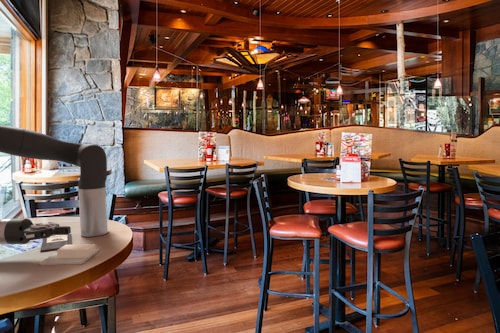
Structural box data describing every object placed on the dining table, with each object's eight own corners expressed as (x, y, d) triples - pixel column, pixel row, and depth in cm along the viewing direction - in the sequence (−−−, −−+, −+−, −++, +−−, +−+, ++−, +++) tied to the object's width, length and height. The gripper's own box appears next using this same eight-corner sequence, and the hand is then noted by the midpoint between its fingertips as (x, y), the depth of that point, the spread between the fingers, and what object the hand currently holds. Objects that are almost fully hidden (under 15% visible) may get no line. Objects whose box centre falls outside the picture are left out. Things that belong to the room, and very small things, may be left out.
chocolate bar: (40, 250, 115) (43, 237, 131) (40, 253, 115) (43, 239, 131) (72, 246, 119) (71, 233, 135) (72, 249, 119) (71, 236, 135)
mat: (61, 251, 115) (61, 249, 115) (99, 250, 115) (99, 249, 115) (39, 264, 103) (39, 262, 103) (82, 264, 103) (81, 262, 103)
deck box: (65, 244, 111) (95, 244, 111) (66, 252, 111) (95, 252, 111) (56, 249, 106) (87, 249, 106) (57, 258, 106) (88, 257, 106)
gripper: (-6, 224, 101) (57, 223, 101) (24, 214, 115) (79, 213, 115) (-4, 250, 102) (58, 249, 102) (25, 237, 115) (80, 236, 115)
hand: (69, 230), depth 108 cm, fingers closed
